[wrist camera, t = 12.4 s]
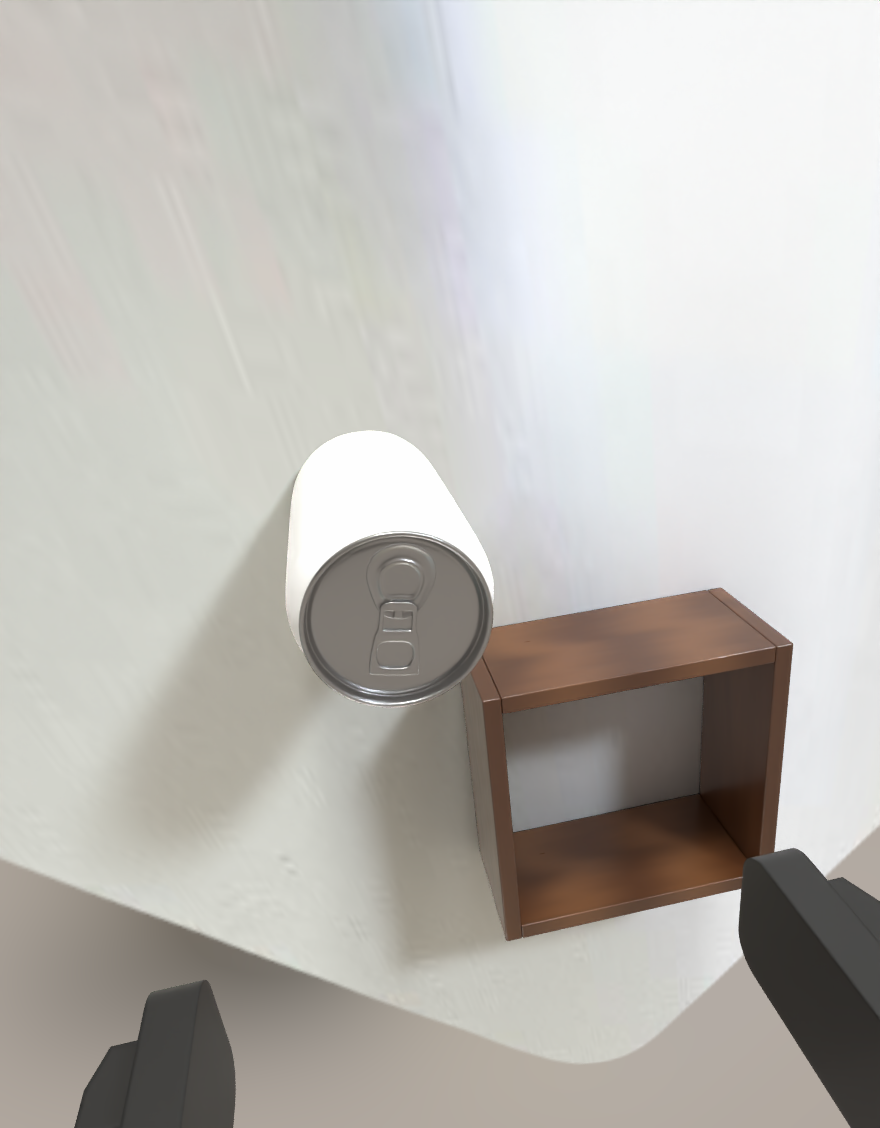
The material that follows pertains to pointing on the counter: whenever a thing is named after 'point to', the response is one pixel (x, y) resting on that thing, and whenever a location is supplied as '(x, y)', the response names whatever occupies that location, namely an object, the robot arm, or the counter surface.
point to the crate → (651, 832)
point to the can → (384, 573)
